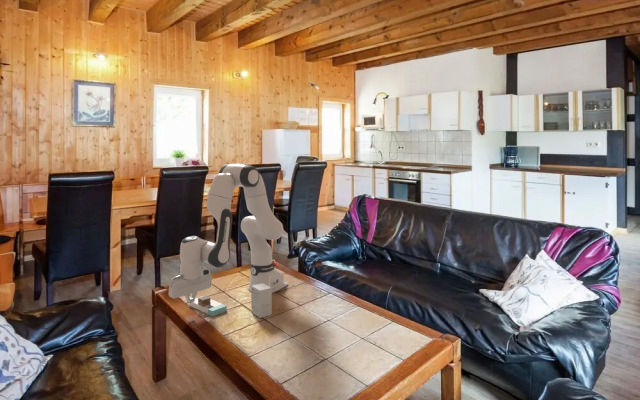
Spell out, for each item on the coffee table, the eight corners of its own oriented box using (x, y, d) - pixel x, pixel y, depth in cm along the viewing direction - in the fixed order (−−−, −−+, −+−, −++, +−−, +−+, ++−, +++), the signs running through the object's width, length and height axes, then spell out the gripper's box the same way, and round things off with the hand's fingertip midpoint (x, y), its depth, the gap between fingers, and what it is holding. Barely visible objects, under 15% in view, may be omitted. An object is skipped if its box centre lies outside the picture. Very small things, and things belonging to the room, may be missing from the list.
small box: (272, 314, 189) (272, 287, 187) (260, 318, 185) (260, 290, 183) (262, 309, 195) (262, 282, 193) (250, 312, 191) (250, 285, 189)
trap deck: (203, 300, 203) (203, 295, 203) (226, 310, 192) (226, 305, 191) (189, 305, 197) (189, 300, 197) (212, 316, 186) (212, 311, 185)
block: (205, 302, 195) (205, 295, 195) (210, 304, 193) (210, 297, 192) (198, 304, 192) (198, 298, 192) (203, 306, 190) (203, 300, 189)
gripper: (173, 279, 175) (173, 310, 176) (213, 269, 190) (213, 298, 192) (165, 276, 179) (166, 306, 180) (205, 266, 194) (205, 294, 196)
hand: (190, 302), depth 186 cm, fingers closed
